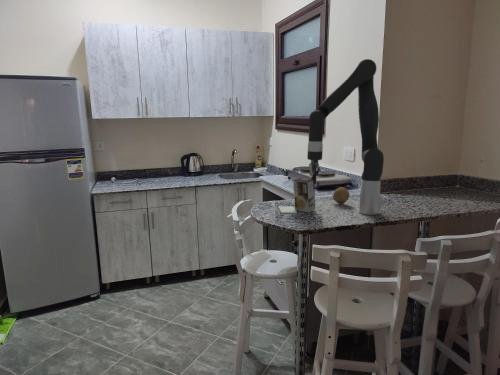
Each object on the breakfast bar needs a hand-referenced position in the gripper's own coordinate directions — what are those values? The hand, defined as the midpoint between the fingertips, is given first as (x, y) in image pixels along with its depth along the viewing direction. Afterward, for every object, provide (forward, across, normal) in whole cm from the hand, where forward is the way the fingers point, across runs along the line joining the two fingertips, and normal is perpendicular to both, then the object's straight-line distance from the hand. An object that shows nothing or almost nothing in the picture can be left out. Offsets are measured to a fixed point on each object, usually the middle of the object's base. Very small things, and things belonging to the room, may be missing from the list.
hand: (313, 183), depth 185 cm
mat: (+14, 0, +13) cm, 19 cm away
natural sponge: (+14, +12, -19) cm, 26 cm away
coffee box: (+14, 0, +4) cm, 15 cm away
